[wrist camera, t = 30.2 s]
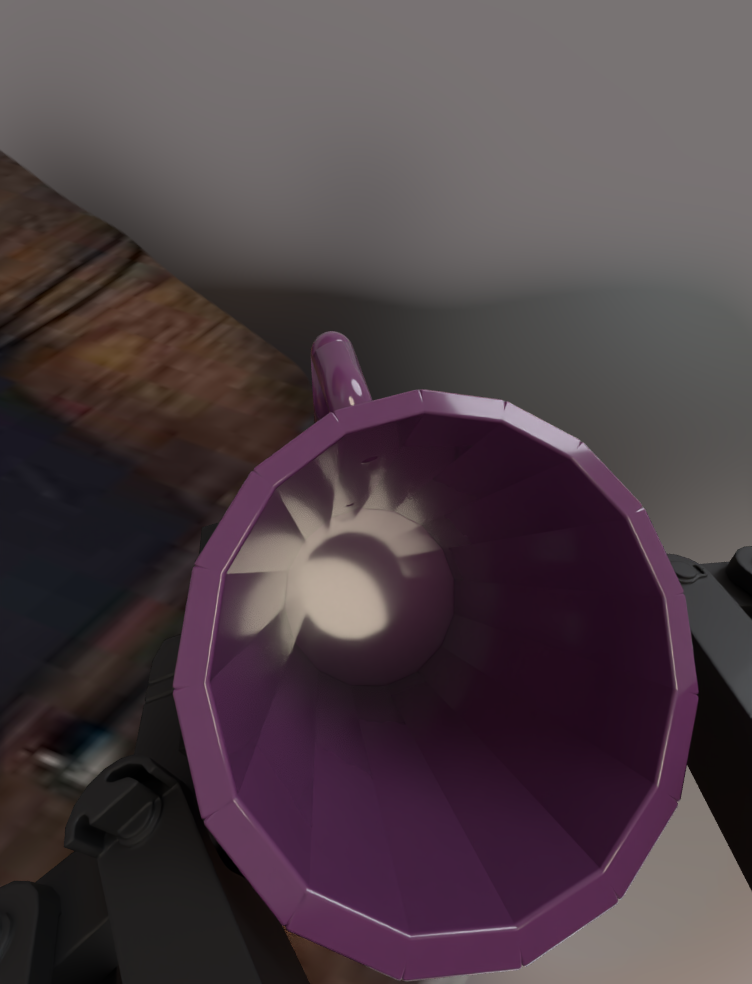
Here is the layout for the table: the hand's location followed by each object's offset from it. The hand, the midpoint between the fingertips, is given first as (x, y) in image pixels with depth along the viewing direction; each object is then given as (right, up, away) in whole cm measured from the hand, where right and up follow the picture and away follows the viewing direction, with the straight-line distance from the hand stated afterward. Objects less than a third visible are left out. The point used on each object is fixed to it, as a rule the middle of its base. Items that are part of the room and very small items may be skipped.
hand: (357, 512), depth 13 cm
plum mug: (0, -2, +3) cm, 4 cm away
